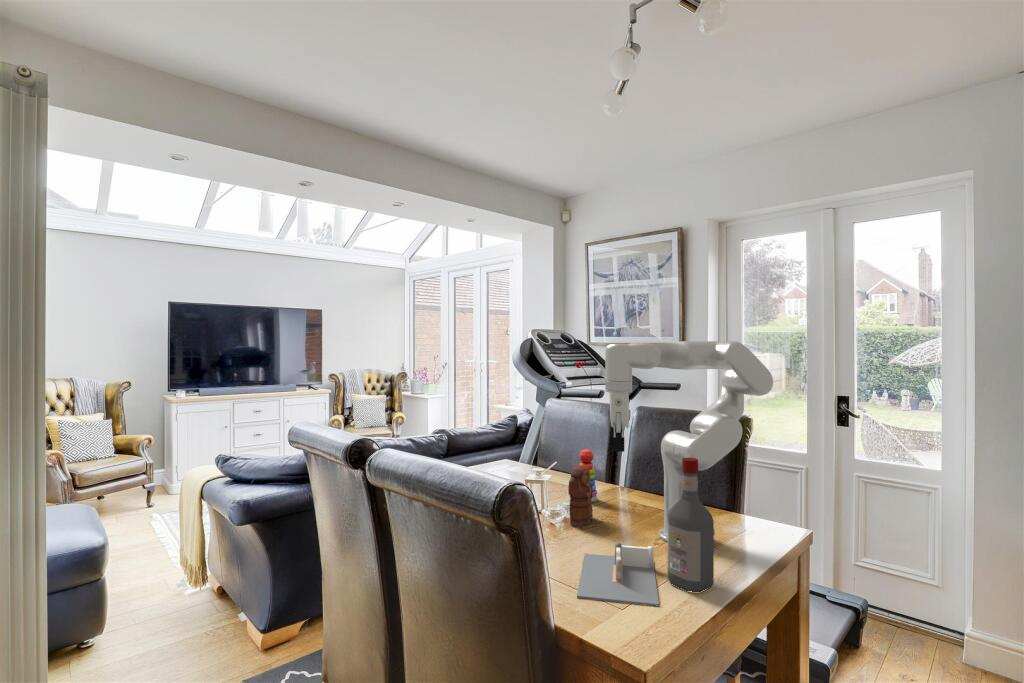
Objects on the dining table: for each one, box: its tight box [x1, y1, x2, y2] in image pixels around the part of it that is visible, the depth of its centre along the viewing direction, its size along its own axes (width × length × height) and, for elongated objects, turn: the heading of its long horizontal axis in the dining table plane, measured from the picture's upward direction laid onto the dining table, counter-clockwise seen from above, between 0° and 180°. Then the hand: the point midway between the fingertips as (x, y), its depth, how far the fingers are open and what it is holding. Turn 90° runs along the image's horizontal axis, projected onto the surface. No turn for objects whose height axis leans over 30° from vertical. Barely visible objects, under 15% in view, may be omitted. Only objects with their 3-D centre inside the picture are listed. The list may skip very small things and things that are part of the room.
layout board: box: [576, 542, 660, 607], centre depth 128 cm, size 18×24×6 cm
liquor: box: [667, 458, 715, 593], centre depth 125 cm, size 9×9×30 cm
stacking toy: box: [578, 448, 598, 503], centre depth 191 cm, size 8×8×19 cm
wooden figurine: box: [567, 464, 594, 527], centre depth 168 cm, size 12×6×18 cm, turn 157°
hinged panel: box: [616, 547, 622, 581], centre depth 129 cm, size 9×1×5 cm, turn 169°
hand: (618, 450), depth 148 cm, fingers closed
